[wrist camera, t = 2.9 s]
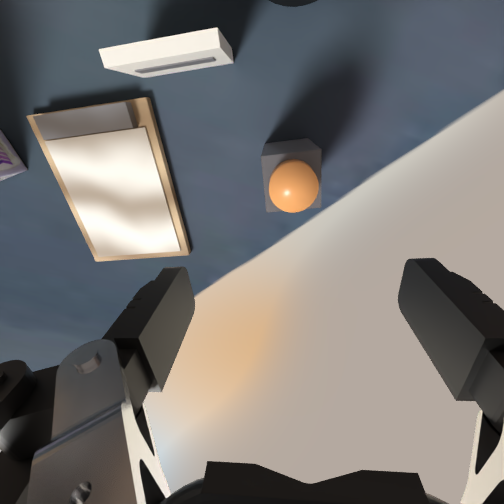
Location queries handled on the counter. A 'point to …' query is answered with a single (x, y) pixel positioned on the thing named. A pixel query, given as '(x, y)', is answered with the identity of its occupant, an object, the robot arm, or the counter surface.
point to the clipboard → (115, 178)
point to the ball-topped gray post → (291, 175)
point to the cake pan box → (9, 159)
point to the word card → (169, 54)
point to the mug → (292, 2)
